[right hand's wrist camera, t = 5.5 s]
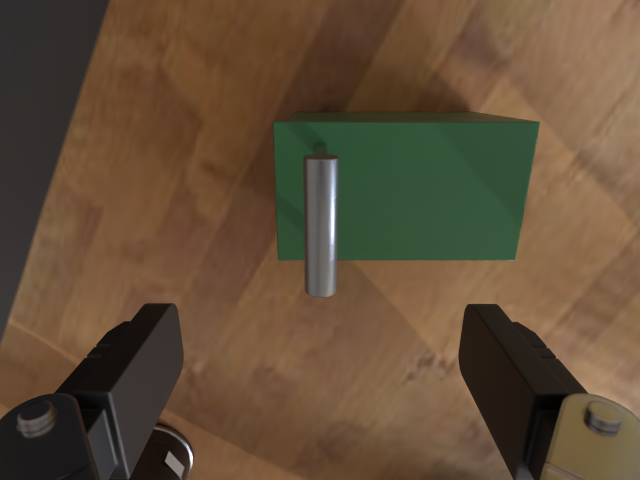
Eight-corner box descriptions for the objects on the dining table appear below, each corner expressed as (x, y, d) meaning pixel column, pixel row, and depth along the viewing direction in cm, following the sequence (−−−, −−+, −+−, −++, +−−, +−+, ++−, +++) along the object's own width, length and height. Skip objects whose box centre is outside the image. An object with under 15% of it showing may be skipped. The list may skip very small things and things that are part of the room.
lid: (279, 253, 29) (264, 316, 21) (274, 120, 26) (254, 134, 18) (507, 253, 29) (578, 316, 21) (530, 120, 26) (625, 134, 18)
